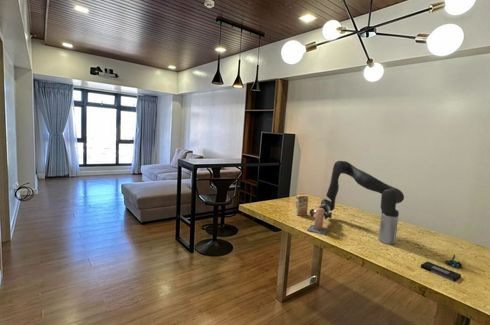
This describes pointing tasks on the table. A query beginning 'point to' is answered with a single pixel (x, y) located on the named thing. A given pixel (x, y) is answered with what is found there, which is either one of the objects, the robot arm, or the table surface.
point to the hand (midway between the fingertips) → (318, 216)
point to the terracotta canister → (319, 219)
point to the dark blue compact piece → (454, 263)
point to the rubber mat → (311, 229)
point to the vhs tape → (441, 271)
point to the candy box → (301, 205)
